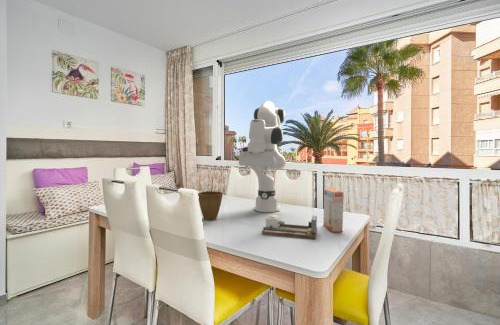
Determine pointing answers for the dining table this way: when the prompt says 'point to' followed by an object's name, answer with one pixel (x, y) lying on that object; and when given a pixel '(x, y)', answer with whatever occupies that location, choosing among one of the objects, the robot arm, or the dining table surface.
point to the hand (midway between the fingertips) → (257, 174)
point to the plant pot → (210, 204)
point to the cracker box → (333, 210)
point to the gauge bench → (291, 233)
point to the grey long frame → (311, 225)
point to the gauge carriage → (273, 221)
